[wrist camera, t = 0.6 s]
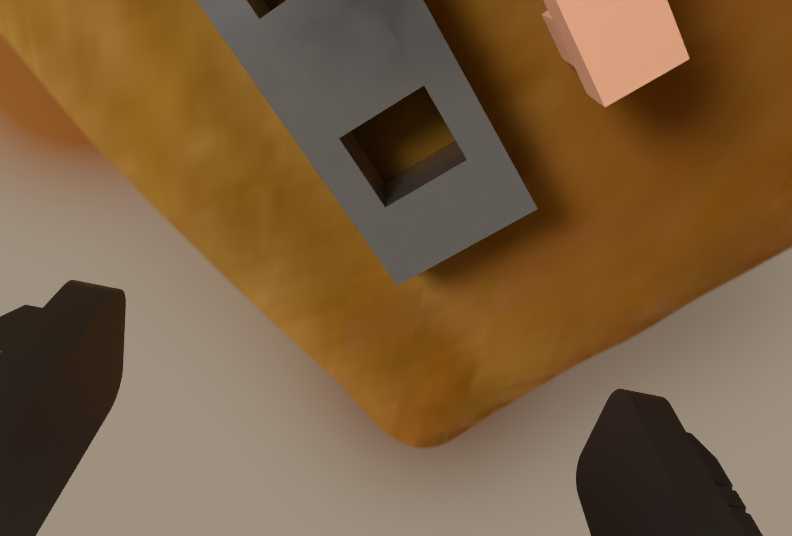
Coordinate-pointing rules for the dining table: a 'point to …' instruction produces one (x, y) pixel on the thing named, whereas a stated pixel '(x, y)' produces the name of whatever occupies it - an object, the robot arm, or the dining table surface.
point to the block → (615, 43)
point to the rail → (365, 98)
